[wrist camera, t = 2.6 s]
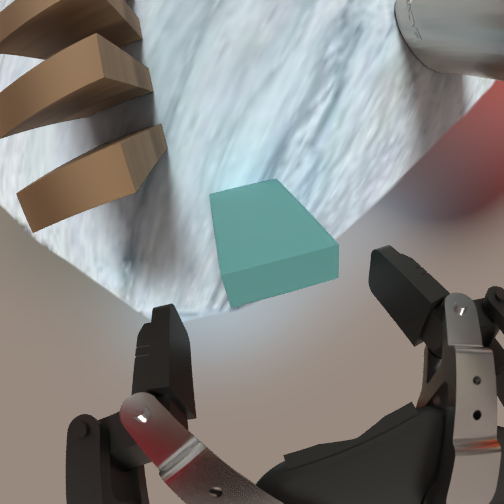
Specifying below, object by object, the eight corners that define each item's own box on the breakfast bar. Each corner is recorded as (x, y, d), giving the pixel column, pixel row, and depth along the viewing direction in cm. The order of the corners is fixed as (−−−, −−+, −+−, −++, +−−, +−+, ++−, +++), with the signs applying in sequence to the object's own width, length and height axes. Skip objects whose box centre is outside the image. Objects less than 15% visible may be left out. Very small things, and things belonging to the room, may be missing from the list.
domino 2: (148, 68, 14) (96, 32, 5) (153, 91, 15) (104, 77, 6) (82, 94, 13) (-8, 99, 5) (87, 117, 14) (-1, 139, 6)
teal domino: (276, 178, 19) (338, 244, 11) (279, 200, 20) (338, 277, 12) (209, 194, 19) (220, 275, 11) (215, 216, 20) (231, 307, 12)
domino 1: (138, 18, 11) (90, -45, 3) (142, 39, 12) (91, -16, 4) (74, 46, 11) (-12, 21, 3) (77, 66, 12) (-12, 52, 4)
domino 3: (161, 123, 16) (120, 143, 7) (167, 148, 17) (136, 192, 8) (96, 147, 16) (16, 193, 7) (103, 170, 16) (32, 233, 8)
